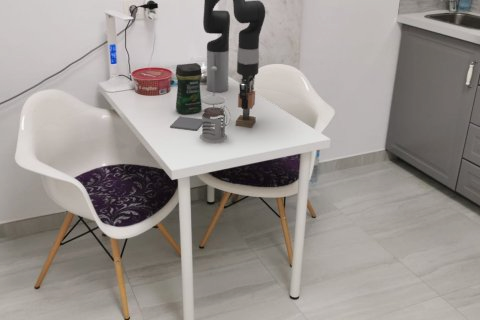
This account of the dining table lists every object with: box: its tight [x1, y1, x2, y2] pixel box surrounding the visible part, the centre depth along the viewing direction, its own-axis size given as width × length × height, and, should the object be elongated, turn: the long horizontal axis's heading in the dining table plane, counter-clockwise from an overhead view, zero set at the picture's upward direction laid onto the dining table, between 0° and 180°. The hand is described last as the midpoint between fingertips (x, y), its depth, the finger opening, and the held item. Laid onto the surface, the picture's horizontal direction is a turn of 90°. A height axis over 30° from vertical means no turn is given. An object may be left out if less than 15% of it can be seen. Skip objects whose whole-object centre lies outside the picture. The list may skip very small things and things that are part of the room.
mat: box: [169, 116, 203, 132], centre depth 194 cm, size 10×10×1 cm
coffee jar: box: [175, 62, 203, 115], centre depth 202 cm, size 10×8×19 cm
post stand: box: [235, 108, 257, 128], centre depth 194 cm, size 6×6×11 cm
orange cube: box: [237, 90, 256, 110], centre depth 192 cm, size 5×5×5 cm
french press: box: [198, 67, 231, 144], centre depth 178 cm, size 10×12×25 cm
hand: (246, 106), depth 193 cm, fingers closed on orange cube, 5 cm apart
